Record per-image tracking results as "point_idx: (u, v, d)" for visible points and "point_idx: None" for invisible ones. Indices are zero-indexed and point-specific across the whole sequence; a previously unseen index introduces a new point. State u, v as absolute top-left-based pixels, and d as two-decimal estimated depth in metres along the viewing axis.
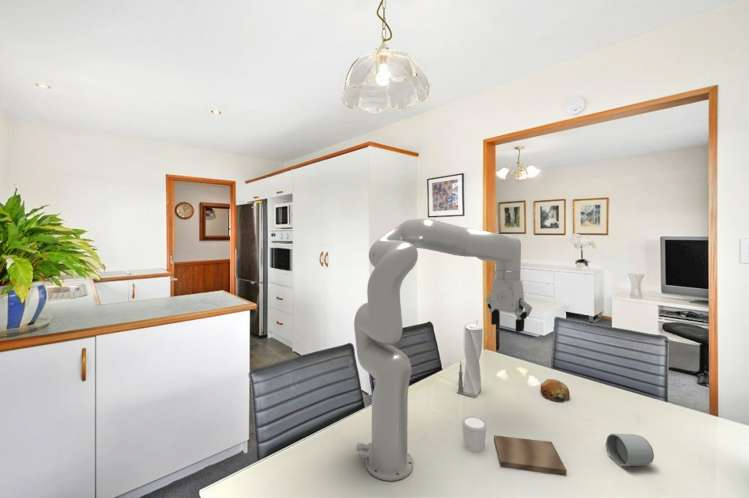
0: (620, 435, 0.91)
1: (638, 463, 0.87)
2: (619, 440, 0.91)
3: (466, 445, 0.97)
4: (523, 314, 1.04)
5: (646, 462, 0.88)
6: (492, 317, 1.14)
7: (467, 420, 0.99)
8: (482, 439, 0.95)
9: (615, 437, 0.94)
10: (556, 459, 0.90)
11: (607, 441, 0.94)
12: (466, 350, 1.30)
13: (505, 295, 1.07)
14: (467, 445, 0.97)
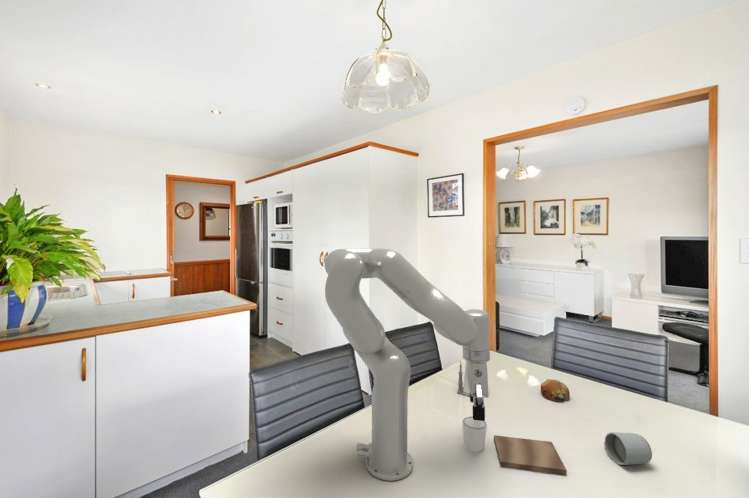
0: (618, 434, 0.91)
1: (636, 462, 0.88)
2: (617, 439, 0.92)
3: (466, 445, 0.97)
4: None
5: (644, 461, 0.88)
6: None
7: (467, 420, 0.99)
8: (482, 439, 0.95)
9: (613, 436, 0.94)
10: (556, 459, 0.90)
11: (606, 440, 0.95)
12: None
13: None
14: (467, 445, 0.97)
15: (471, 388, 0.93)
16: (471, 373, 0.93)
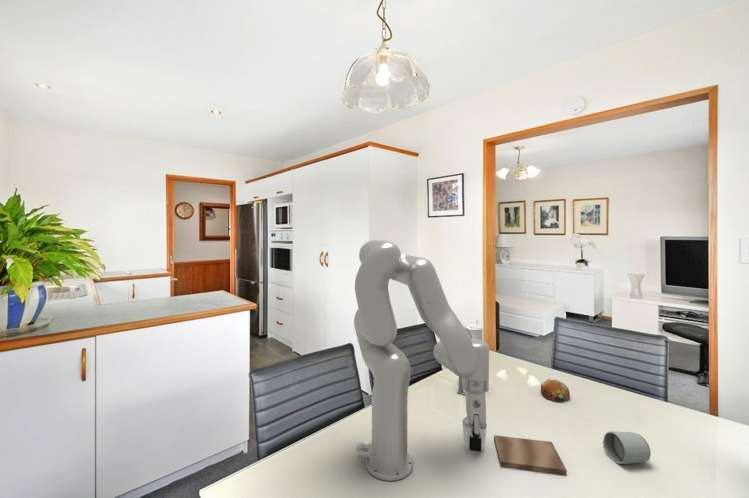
0: (617, 433, 0.92)
1: (635, 460, 0.89)
2: (616, 438, 0.92)
3: (466, 445, 0.97)
4: None
5: (643, 460, 0.89)
6: None
7: (467, 420, 0.99)
8: (482, 439, 0.95)
9: (612, 435, 0.95)
10: (556, 459, 0.90)
11: (604, 439, 0.95)
12: None
13: None
14: (467, 445, 0.97)
15: (469, 419, 0.93)
16: (469, 403, 0.94)
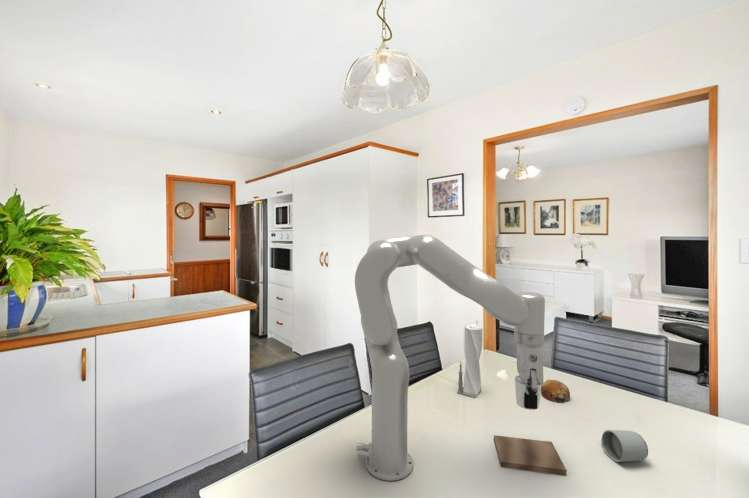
0: (615, 431, 0.92)
1: (633, 459, 0.89)
2: (614, 436, 0.93)
3: (520, 403, 0.92)
4: None
5: (641, 458, 0.89)
6: None
7: (519, 378, 0.94)
8: (538, 396, 0.90)
9: (610, 433, 0.95)
10: (556, 459, 0.90)
11: (603, 437, 0.96)
12: (466, 350, 1.30)
13: None
14: (521, 403, 0.91)
15: (525, 374, 0.88)
16: (525, 358, 0.88)
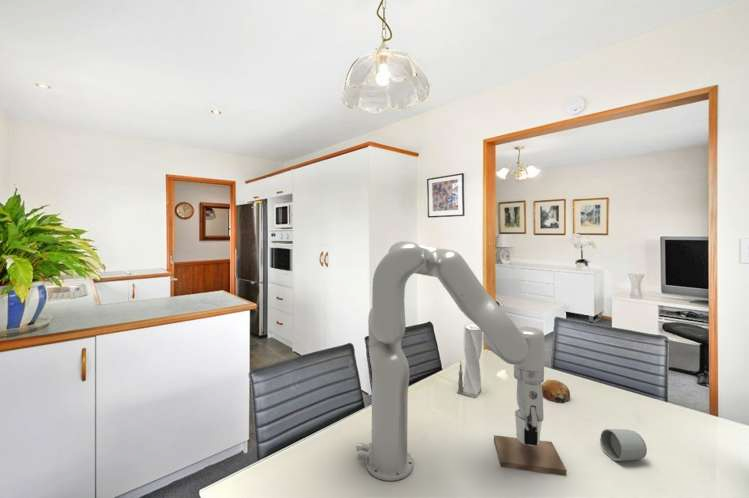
0: (614, 430, 0.93)
1: (631, 457, 0.90)
2: (613, 435, 0.94)
3: (520, 438, 0.92)
4: None
5: (639, 457, 0.90)
6: None
7: (520, 412, 0.94)
8: (538, 432, 0.90)
9: (609, 432, 0.96)
10: (556, 459, 0.90)
11: (601, 436, 0.96)
12: (466, 350, 1.30)
13: None
14: (521, 438, 0.92)
15: (525, 411, 0.89)
16: (525, 395, 0.89)
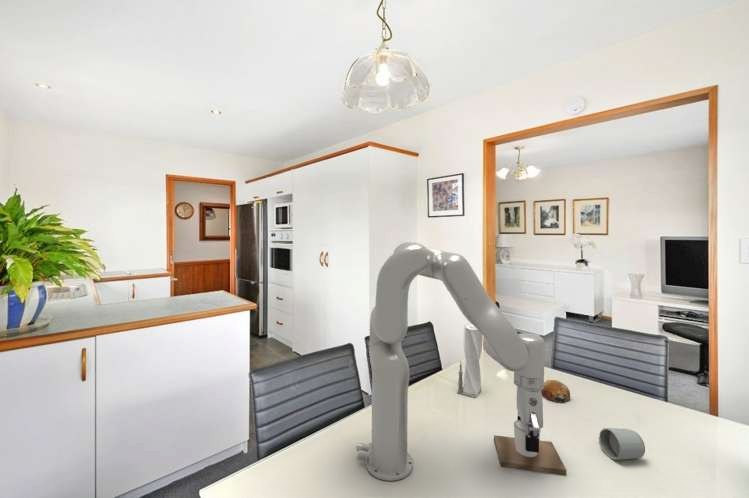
0: (612, 429, 0.93)
1: (630, 456, 0.90)
2: (612, 434, 0.94)
3: (518, 450, 0.92)
4: None
5: (638, 455, 0.90)
6: None
7: (518, 423, 0.95)
8: None
9: (608, 431, 0.96)
10: (556, 459, 0.90)
11: (600, 435, 0.97)
12: (466, 350, 1.30)
13: None
14: (519, 449, 0.92)
15: (525, 417, 0.89)
16: (525, 401, 0.89)
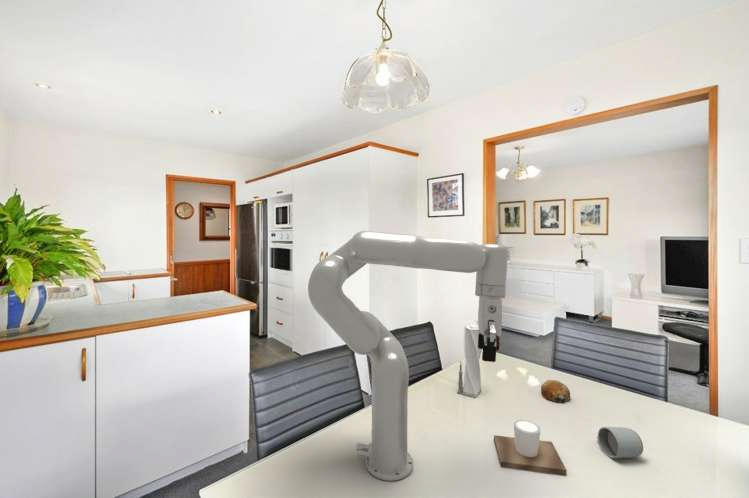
0: (611, 428, 0.94)
1: (628, 455, 0.91)
2: (610, 433, 0.95)
3: (518, 450, 0.92)
4: None
5: (636, 454, 0.91)
6: None
7: (518, 423, 0.95)
8: (536, 443, 0.91)
9: (606, 430, 0.97)
10: (556, 459, 0.90)
11: (599, 434, 0.97)
12: (466, 350, 1.30)
13: None
14: (519, 449, 0.92)
15: (483, 325, 0.85)
16: (484, 309, 0.85)
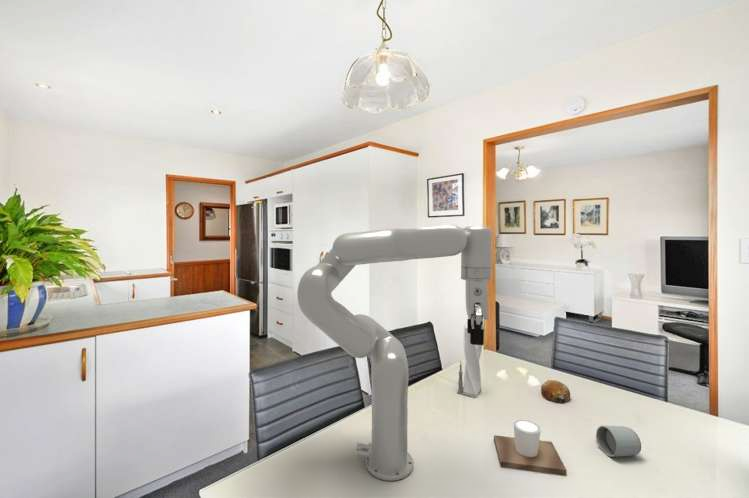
0: (609, 427, 0.94)
1: (626, 453, 0.91)
2: (608, 432, 0.95)
3: (518, 450, 0.92)
4: None
5: (634, 453, 0.92)
6: None
7: (518, 423, 0.95)
8: (536, 443, 0.91)
9: (605, 429, 0.98)
10: (556, 459, 0.90)
11: (597, 433, 0.98)
12: (466, 350, 1.30)
13: None
14: (519, 449, 0.92)
15: (469, 309, 0.84)
16: (470, 292, 0.84)
